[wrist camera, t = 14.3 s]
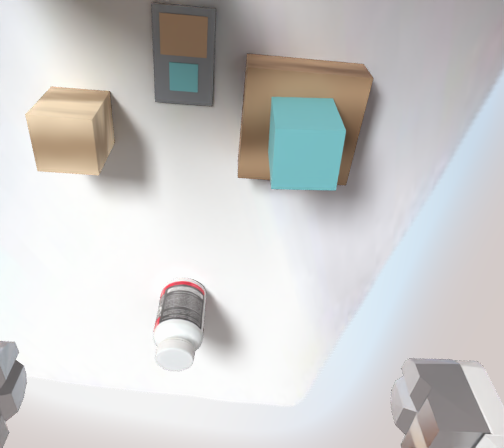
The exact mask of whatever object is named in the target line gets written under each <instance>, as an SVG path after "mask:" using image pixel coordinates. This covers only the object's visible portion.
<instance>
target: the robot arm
mask: <svg viewBox="0 0 504 448" xmlns="http://www.w3.org/2000/svg"><path fill="white" fill-rule="evenodd" d="M18 353H19V351H18V348H17V346H16V344H15V342H10V341H0V448H3V446H4V444H5V441H6V439H7V436H8V434H9V430H8V427H7V424H6V421H7V420H8V419H9V418H11V417H12V416H13V415H14V414H16V413H17V412H18V410H19V408H20V406H21V403H22V400H23V398H24V393H25V388H26V384H27V382H26V371H25V368H24V365H22V364H21V363H19V362H18V361H17V360H16V358H17V355H18ZM401 369H402V373H403V376H402V377H401V378H399V379H397V380H396V381H395V383H394V385H393V388H392V390H391V391H392V392H391V409H392V415H393V419H394V423H395V425H396V426H397V427H398V428H399V429H400V430H401V431H402V432H403V433H404V434H405V436H404V438H403V441H402V443H401V448H504V406H503V404H502V402H501V400H500V398H499V396H498V394H497V392H496V390H495V388H494V386H493V384H492V382H491V380H490V378H489V376H488V374H487V372H486V370H485V368H484V366H483V365H482V364H481V363H479V362H478V361H457V360H455V361H454V360H450V359H449V360H448V359H447V360H446V359H415V358H409V359H408V360H406V361H405V362H404V364H403V366H402V368H401Z"/></svg>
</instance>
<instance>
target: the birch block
mask: <svg viewBox="0 0 504 448" xmlns="http://www.w3.org/2000/svg"><path fill="white" fill-rule="evenodd" d="M25 115H26V120H27V124H28V129H29V134H30V138H31V143H32V147H33V152H34V157H35V161H36V166H37V170H38V171H43V172H57V173H72V174H86V175H99V174H100V172H101V170H102V168H103V166H104V164H105V162H106V160H107V158H108V156H109V154H110V152H111V150H112V148H113V145H114V143H115V140H114V129H113V119H112V109H111V98H110V91H99V90H87V89H75V88H63V87H50V88H49V90H48V91H47V92H46V93H45V94H44V95H43V96H42V97H41V98H40V99H39V100H38V101H37V103H36V104H35V105H34V106H33V107H32V108H31V109H30V110H29V111H28V112H27V113H26V114H25Z"/></svg>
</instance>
